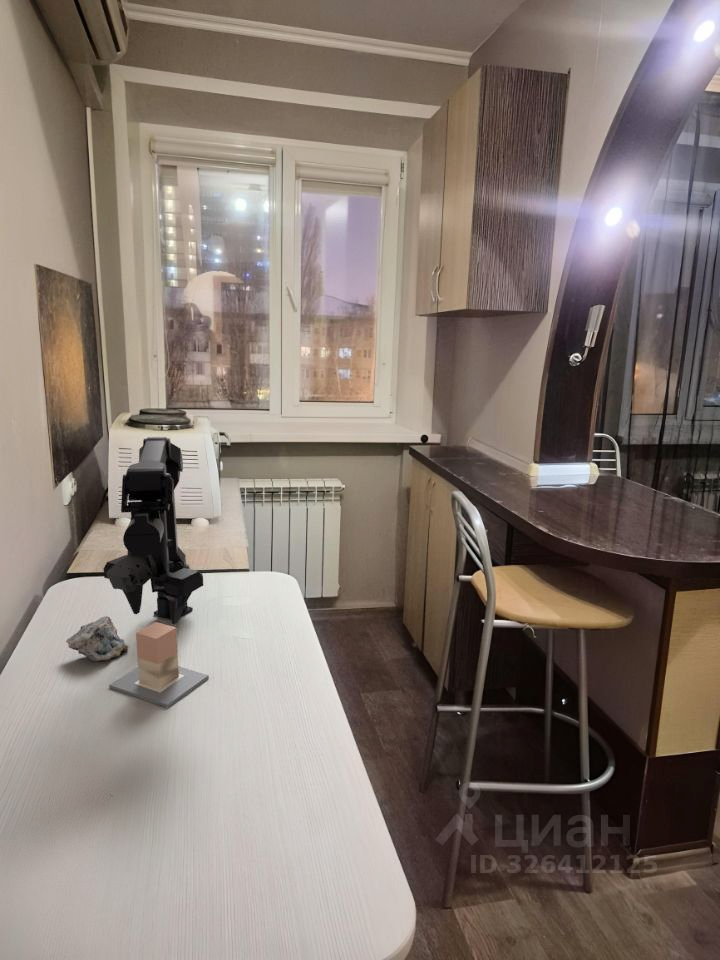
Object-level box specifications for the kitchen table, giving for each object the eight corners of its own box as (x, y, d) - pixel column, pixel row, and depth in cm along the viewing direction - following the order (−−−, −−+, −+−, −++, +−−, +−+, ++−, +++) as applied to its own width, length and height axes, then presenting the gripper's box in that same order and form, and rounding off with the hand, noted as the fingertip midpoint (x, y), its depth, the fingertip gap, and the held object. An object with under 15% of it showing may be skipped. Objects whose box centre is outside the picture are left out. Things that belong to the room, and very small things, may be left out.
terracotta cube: (157, 646, 120) (156, 621, 119) (177, 652, 118) (176, 627, 117) (137, 657, 116) (135, 632, 115) (158, 664, 113) (156, 638, 112)
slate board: (152, 660, 126) (152, 657, 126) (208, 678, 120) (208, 674, 120) (109, 687, 116) (109, 684, 116) (167, 707, 110) (167, 704, 110)
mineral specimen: (107, 683, 127) (100, 649, 135) (137, 656, 127) (129, 624, 135) (68, 664, 121) (64, 630, 128) (100, 636, 121) (93, 603, 128)
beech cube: (158, 669, 121) (157, 646, 120) (178, 676, 119) (177, 652, 118) (139, 682, 117) (137, 657, 116) (159, 689, 115) (158, 664, 113)
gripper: (75, 541, 108) (82, 625, 112) (157, 559, 100) (162, 649, 104) (124, 525, 118) (130, 602, 122) (203, 540, 110) (207, 622, 114)
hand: (155, 618), depth 115 cm, fingers open, 9 cm apart
